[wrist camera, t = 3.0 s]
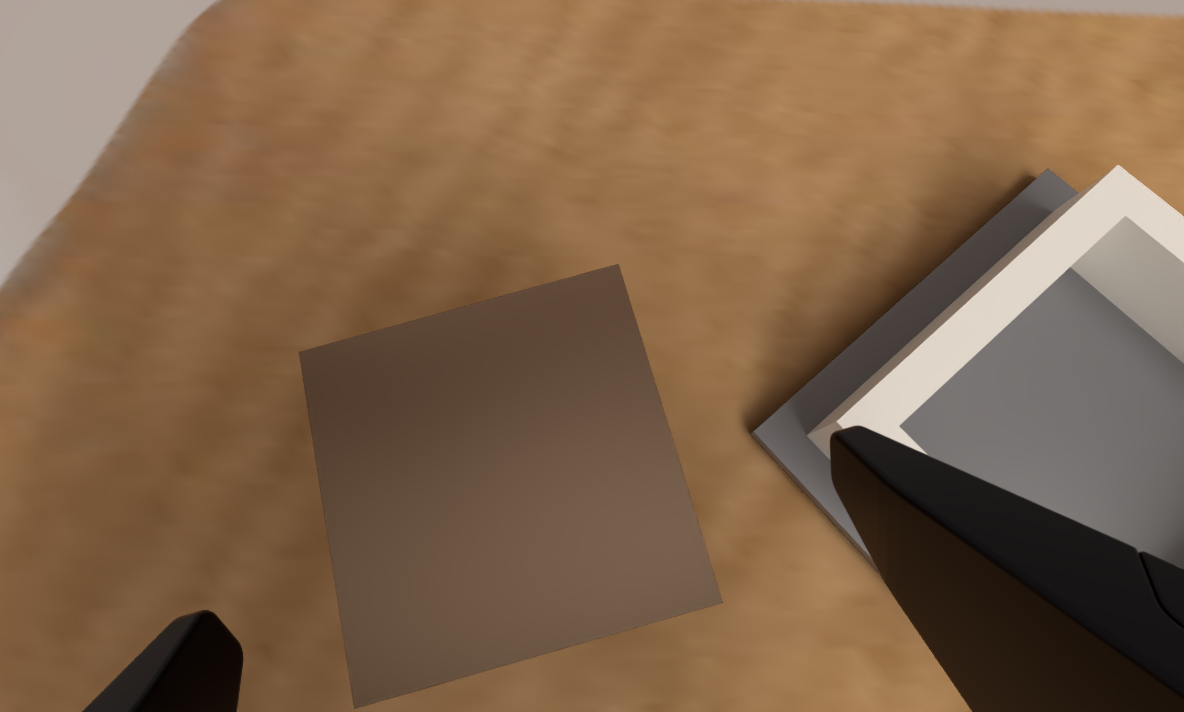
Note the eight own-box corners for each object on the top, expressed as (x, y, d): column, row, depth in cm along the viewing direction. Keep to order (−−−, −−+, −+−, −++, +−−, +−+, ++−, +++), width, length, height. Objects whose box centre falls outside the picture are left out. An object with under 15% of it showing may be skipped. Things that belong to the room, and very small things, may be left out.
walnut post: (667, 555, 17) (723, 603, 7) (510, 599, 17) (354, 708, 7) (622, 400, 18) (618, 263, 8) (474, 442, 18) (299, 352, 8)
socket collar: (1407, 482, 16) (1575, 473, 13) (1105, 816, 15) (1221, 888, 12) (1037, 177, 19) (1111, 116, 16) (750, 434, 18) (774, 417, 15)
